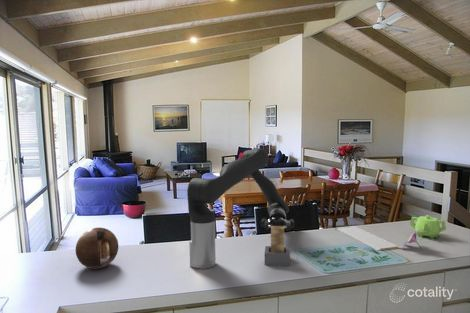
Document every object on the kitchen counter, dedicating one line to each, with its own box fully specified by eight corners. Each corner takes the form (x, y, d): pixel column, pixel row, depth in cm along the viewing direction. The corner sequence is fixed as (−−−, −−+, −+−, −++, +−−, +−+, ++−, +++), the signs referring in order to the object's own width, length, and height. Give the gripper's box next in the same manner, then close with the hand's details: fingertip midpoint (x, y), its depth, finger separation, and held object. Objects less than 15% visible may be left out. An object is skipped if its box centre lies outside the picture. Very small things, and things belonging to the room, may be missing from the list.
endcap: (264, 264, 136) (264, 253, 136) (265, 257, 144) (265, 245, 144) (289, 266, 135) (289, 254, 134) (289, 258, 143) (289, 246, 142)
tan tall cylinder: (270, 261, 138) (270, 228, 137) (271, 257, 142) (271, 225, 140) (283, 261, 137) (284, 228, 136) (283, 258, 141) (284, 226, 140)
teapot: (408, 232, 174) (408, 213, 173) (428, 231, 176) (429, 211, 175) (425, 240, 162) (426, 219, 162) (447, 239, 165) (448, 218, 164)
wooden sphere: (77, 262, 139) (75, 225, 138) (118, 257, 145) (116, 221, 143) (75, 278, 125) (73, 236, 124) (120, 271, 131) (118, 231, 129)
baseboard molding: (374, 252, 150) (398, 249, 153) (374, 245, 150) (398, 243, 153) (333, 230, 179) (354, 228, 183) (334, 225, 179) (354, 223, 183)
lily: (416, 245, 159) (405, 226, 161) (439, 243, 149) (427, 222, 150) (399, 258, 154) (388, 238, 155) (422, 257, 144) (409, 235, 145)
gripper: (262, 209, 166) (260, 218, 150) (293, 210, 164) (294, 219, 148) (262, 225, 167) (260, 236, 151) (293, 226, 165) (294, 237, 149)
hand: (277, 228), depth 149 cm, fingers open, 8 cm apart
